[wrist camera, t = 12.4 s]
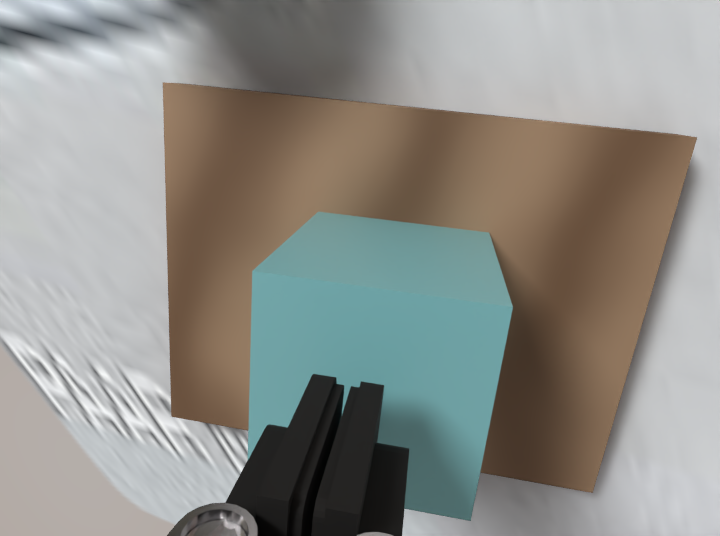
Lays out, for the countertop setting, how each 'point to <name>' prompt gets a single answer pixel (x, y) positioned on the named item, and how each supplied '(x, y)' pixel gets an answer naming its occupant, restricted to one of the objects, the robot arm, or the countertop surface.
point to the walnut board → (436, 208)
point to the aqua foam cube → (387, 340)
